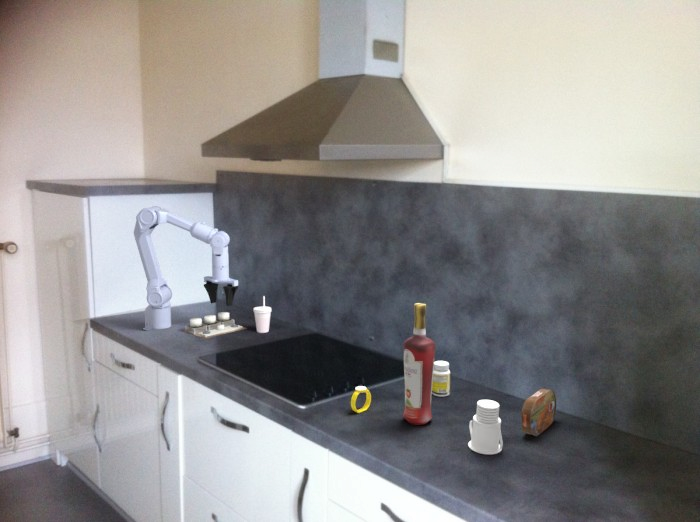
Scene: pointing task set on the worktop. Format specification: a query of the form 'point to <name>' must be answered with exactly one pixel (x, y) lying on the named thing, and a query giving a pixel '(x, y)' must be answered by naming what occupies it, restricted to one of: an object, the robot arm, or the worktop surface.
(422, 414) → the liquor
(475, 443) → the downlight
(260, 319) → the smoothie
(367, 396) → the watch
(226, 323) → the console
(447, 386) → the supplement bottle
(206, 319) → the button mid
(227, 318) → the button far
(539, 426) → the tin
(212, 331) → the strip
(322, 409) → the worktop surface
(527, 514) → the worktop surface
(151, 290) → the robot arm
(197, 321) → the button near
